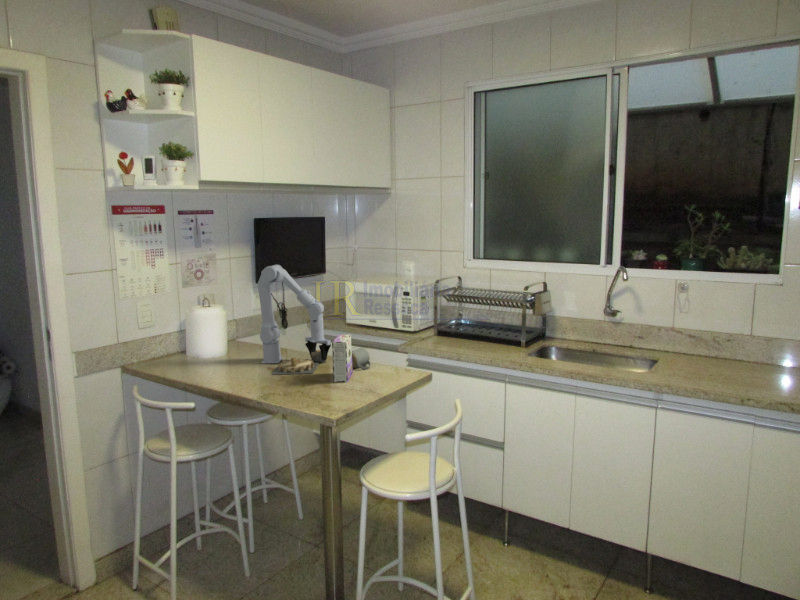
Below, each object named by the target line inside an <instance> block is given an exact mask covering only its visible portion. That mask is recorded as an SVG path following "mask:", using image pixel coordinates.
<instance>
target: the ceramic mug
mask: <svg viewBox="0 0 800 600" xmlns="http://www.w3.org/2000/svg"><path fill="white" fill-rule="evenodd" d="M370 357H371V356H370V354H369V351H368V350H367V349H366V348H364V347H360V348H357V349H355V350H352V368H353V369H357V368H358V369H360V370H369V369H370V368H371V365H372V363H371V361H370V359H371V358H370Z"/></svg>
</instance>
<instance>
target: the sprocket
mask: <svg viewBox="0 0 800 600" xmlns="http://www.w3.org/2000/svg"><path fill="white" fill-rule="evenodd" d="M277 364H278V366H279V371H283V372H291V373H294V372H299V371H300V372H303V371H305V370H311V368H314V362H313V361H312V359H311V360H309V359H308V358H305V359H302V358H296V357H291V358H290V359H289V360H282V361H281V363H280V362H279V363H277ZM278 366H277V367H278Z"/></svg>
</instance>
